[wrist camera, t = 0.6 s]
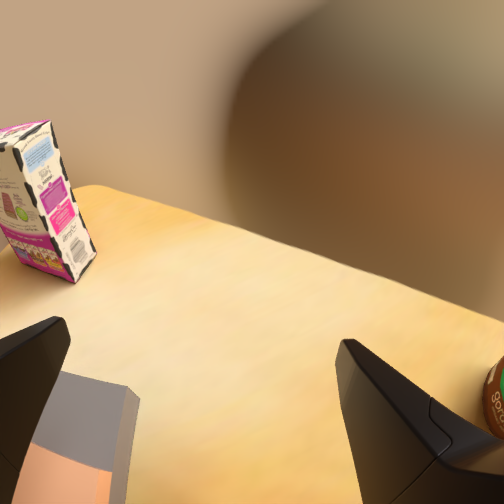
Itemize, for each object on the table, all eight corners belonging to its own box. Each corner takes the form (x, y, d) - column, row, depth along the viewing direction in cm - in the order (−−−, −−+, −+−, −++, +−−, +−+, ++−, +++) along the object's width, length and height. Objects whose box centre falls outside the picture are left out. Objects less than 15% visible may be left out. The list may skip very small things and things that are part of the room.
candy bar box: (100, 252, 31) (53, 116, 19) (77, 285, 27) (12, 145, 16) (41, 236, 32) (-4, 127, 21) (20, 263, 29) (-36, 151, 17)
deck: (121, 608, 6) (107, 619, 4) (34, 569, 6) (13, 571, 4) (140, 398, 20) (127, 386, 18) (59, 379, 20) (41, 364, 18)
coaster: (105, 558, 8) (91, 562, 7) (22, 518, 8) (5, 516, 7) (112, 472, 13) (99, 469, 12) (31, 441, 13) (15, 434, 12)
